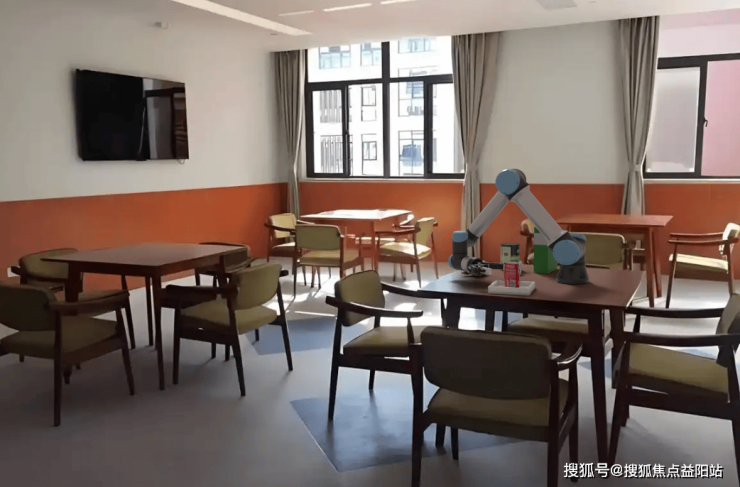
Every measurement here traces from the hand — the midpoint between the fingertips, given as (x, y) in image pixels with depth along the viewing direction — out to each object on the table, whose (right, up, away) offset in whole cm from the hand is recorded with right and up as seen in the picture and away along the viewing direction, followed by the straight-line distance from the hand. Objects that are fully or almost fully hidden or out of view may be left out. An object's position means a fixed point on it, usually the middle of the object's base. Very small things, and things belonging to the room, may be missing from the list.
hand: (502, 270), depth 303 cm
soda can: (+3, -8, -4) cm, 10 cm away
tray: (+3, -9, -4) cm, 10 cm away
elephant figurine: (+14, -4, +40) cm, 43 cm away
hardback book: (+33, -2, +50) cm, 60 cm away
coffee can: (+15, -2, +57) cm, 59 cm away
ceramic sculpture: (-6, -5, +39) cm, 39 cm away
